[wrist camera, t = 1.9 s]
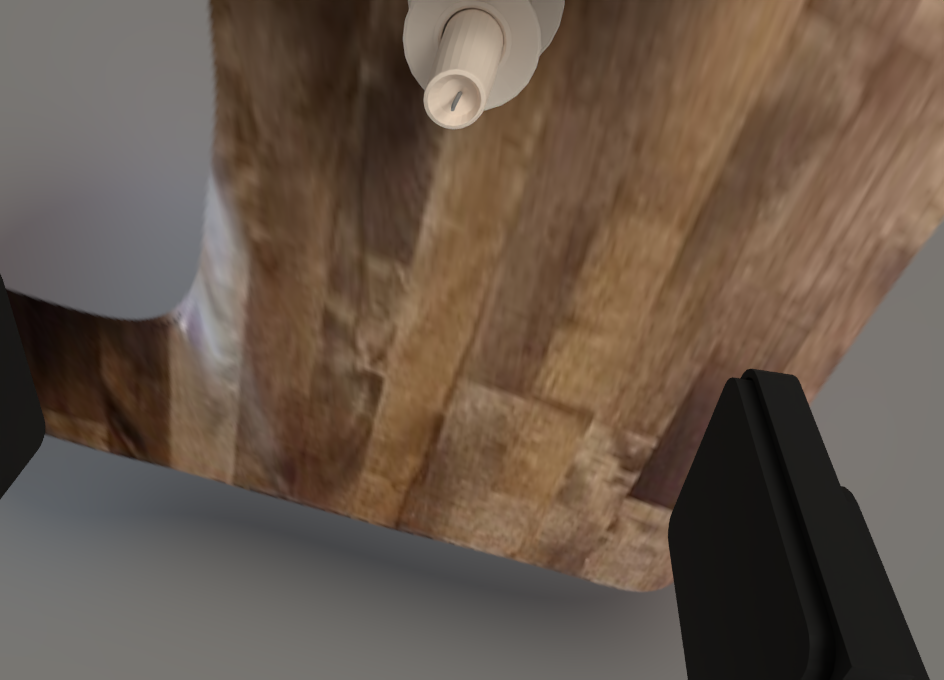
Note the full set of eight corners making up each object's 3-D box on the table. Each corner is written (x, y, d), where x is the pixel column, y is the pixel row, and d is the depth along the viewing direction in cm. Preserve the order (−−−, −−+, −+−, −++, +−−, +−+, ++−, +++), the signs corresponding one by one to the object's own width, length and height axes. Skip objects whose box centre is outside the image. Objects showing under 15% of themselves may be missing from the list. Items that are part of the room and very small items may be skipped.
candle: (590, -60, 24) (604, 37, 16) (532, 94, 28) (520, 239, 19) (433, -119, 24) (365, -51, 16) (392, 44, 27) (318, 173, 19)
